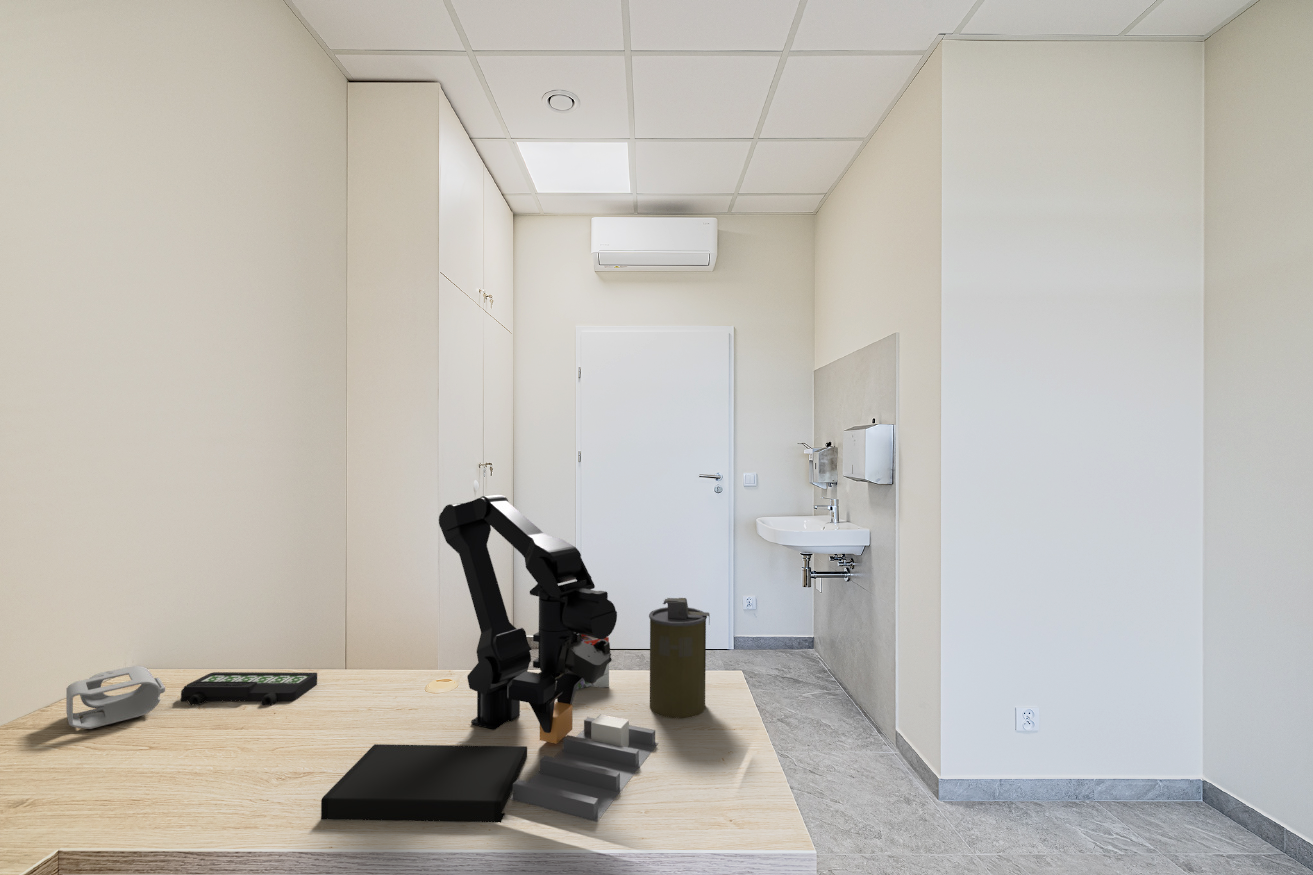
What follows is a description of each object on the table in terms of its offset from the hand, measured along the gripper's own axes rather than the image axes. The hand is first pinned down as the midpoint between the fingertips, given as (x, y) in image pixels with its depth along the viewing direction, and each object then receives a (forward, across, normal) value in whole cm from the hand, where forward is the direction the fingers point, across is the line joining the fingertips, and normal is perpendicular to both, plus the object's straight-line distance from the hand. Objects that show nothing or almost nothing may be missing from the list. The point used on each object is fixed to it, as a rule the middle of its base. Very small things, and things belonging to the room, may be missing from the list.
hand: (556, 724), depth 96 cm
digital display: (+4, -4, +65) cm, 65 cm away
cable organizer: (+4, -19, +78) cm, 80 cm away
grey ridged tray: (+3, -6, -9) cm, 11 cm away
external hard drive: (+4, -17, +10) cm, 20 cm away
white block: (+2, +1, -9) cm, 9 cm away
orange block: (+2, 0, 0) cm, 2 cm away
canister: (+4, +19, -14) cm, 24 cm away
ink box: (+4, +22, +6) cm, 23 cm away
